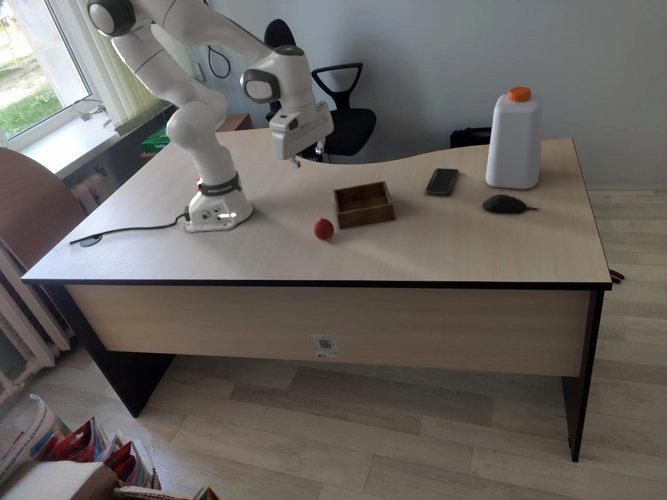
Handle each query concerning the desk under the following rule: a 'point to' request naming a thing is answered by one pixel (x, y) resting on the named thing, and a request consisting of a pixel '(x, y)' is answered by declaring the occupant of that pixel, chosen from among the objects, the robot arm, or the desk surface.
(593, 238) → the desk surface
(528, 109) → the plastic bottle
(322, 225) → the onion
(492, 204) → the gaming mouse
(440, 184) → the phone
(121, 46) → the robot arm
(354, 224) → the wooden box
